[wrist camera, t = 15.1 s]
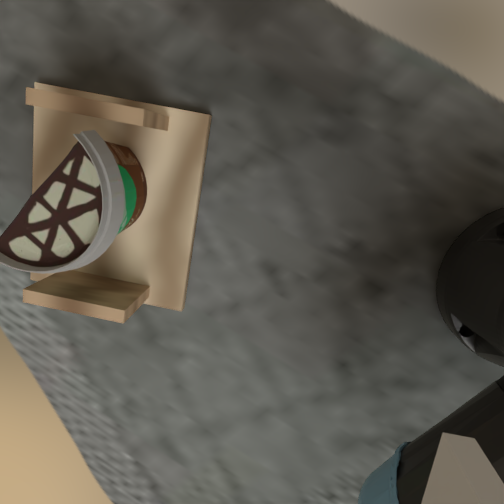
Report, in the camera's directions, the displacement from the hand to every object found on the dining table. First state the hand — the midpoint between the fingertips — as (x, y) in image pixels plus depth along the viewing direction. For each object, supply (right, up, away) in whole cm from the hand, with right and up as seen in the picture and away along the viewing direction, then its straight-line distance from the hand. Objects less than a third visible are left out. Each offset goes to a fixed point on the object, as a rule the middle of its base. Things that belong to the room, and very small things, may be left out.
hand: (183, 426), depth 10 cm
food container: (-11, +9, +25) cm, 29 cm away
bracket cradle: (-11, +10, +26) cm, 30 cm away
